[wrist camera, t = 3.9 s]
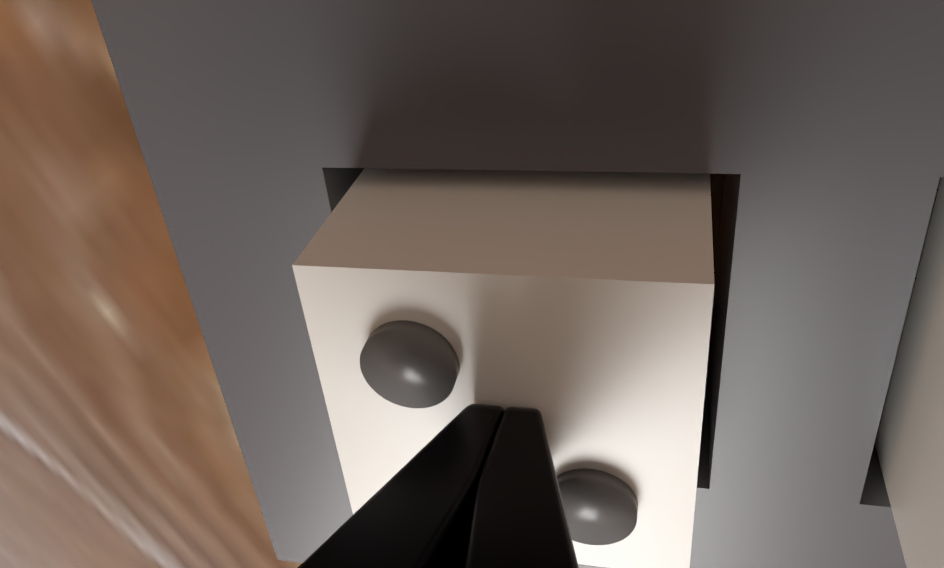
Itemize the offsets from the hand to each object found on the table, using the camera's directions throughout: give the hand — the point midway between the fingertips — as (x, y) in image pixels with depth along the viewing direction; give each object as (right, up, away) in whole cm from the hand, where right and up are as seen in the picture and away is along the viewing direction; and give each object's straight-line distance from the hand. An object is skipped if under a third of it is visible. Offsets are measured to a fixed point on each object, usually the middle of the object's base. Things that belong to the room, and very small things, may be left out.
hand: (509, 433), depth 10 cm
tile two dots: (+1, +2, +2) cm, 3 cm away
